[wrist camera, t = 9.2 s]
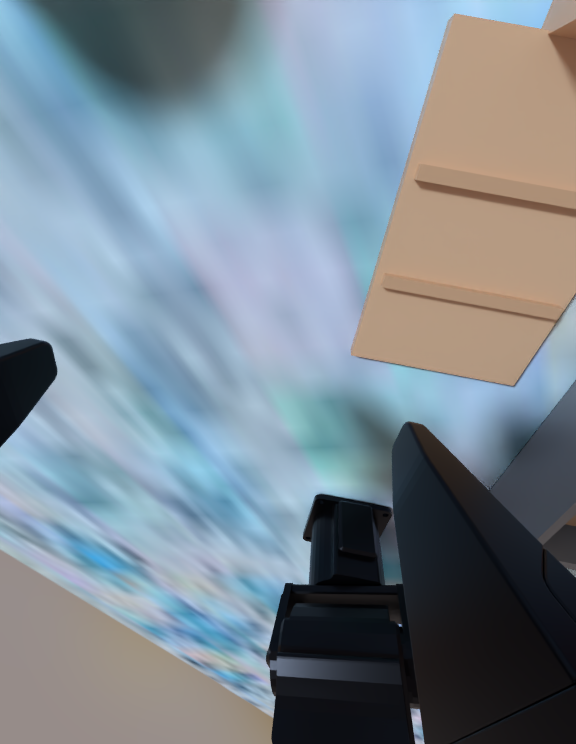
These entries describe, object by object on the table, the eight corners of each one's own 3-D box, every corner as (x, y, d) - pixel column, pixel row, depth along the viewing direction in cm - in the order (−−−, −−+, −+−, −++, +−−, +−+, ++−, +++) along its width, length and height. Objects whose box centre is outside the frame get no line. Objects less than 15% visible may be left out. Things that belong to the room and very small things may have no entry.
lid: (507, 378, 20) (537, 417, 18) (350, 348, 21) (353, 382, 18) (785, -53, 11) (959, -131, 8) (485, -105, 11) (542, -201, 8)
